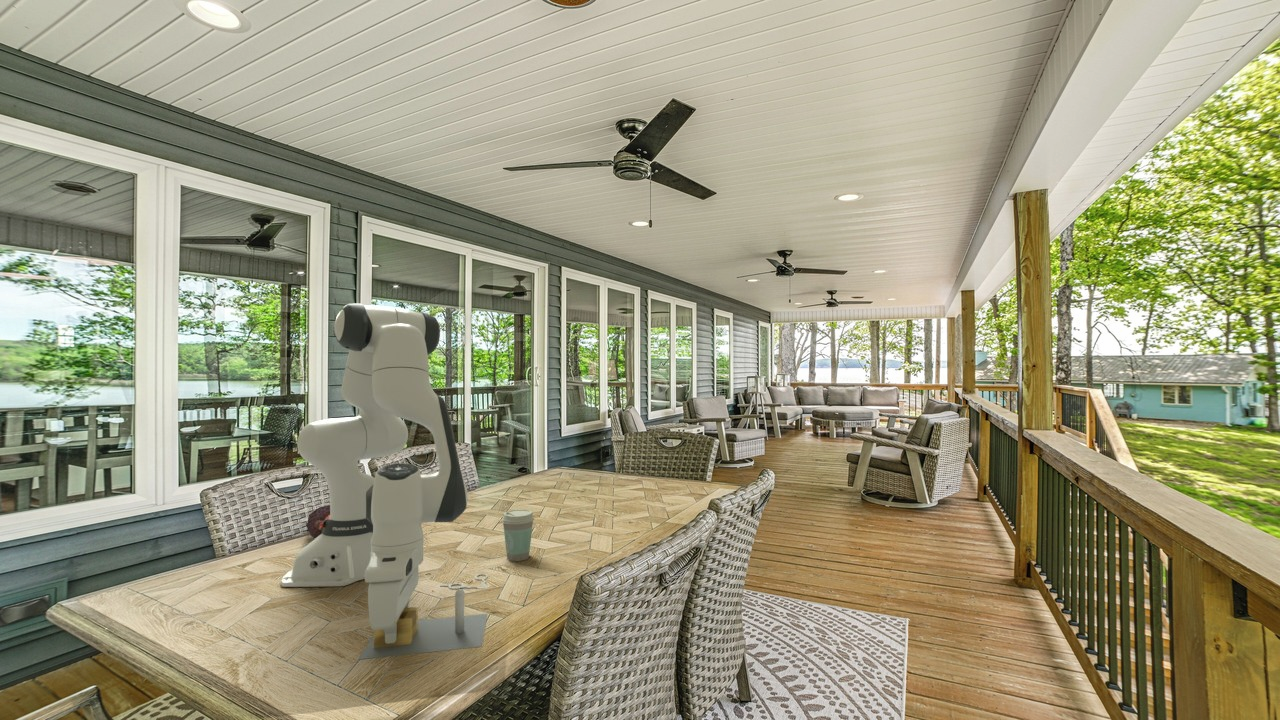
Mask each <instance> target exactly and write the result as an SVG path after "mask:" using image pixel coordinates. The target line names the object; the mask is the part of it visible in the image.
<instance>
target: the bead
mask: <svg viewBox="0 0 1280 720" xmlns="http://www.w3.org/2000/svg"><path fill="white" fill-rule="evenodd" d="M418 611H419V607H418V606H413V607H412V606H411V607H408V608H404V610H403V612H402V613H401V615H400V617H399V619H398V621H397V629H398V638H397V640H396V642H395V643H389V644H387V643H385V633H384V630H373V635H374V648H378V647H387V646H397V645H407V644H411V642H412V639H413V637H414V635H415V633H416V631H417V628H418V620H419V617H418V616H419V615H418V614H419V613H418Z"/></svg>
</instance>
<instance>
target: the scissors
mask: <svg viewBox="0 0 1280 720" xmlns="http://www.w3.org/2000/svg"><path fill="white" fill-rule="evenodd" d="M479 575H481V576H483V575H485V576H484V577H481V578H479V577H480V576H479ZM486 578H487V579H488V574H486V573H478V574H475V576H474V579H476V581H481V582H482V585H481V586H468V585H467V586H466V585H464V583H463V582H456V583H455V582H454V583H450V584H440V588H441V587H443V586H445V587H446V588H448V589H449V590H452V591H453V589H456V590H458V589H460V588H462V589H468V590H471V589H470V588H476V589H485V588H486V589H487V588H490V586H488V585H487V584H486V583H487V581H486V580H487V579H486ZM485 579H486V580H485ZM457 584H458V585H457ZM460 585H461V586H460ZM453 586H458V587H453ZM511 596H512V597H516V598H518V597H519V596H517V595H514V594H511Z"/></svg>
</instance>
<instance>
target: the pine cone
mask: <svg viewBox="0 0 1280 720" xmlns="http://www.w3.org/2000/svg"><path fill="white" fill-rule="evenodd" d="M329 515H330V504H328V505H323V506H319V507H318V508H316V509H314V510H312V512H311V513H310V514H309V515H308V517H307V522H306V525H305V526H306V528H307V529H306V531H307V532H308V533H309V535H310V536H311V537H313V540H314V539H315V538H317V537H318V536H319V535H321V534H322V529H319V528H320V526H319V525H320V524H321V523H322V522H323V521H324V520H325V518H326V517H328V516H329Z"/></svg>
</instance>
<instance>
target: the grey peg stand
mask: <svg viewBox="0 0 1280 720" xmlns="http://www.w3.org/2000/svg"><path fill="white" fill-rule="evenodd" d="M454 599H455V600H454V603H455V604H454V607H455V609H454V611H455V612H454V614H455V615H454V616H448V617H438V618H427V619H418V628H417V631H416V633H415V635H414V637H413V639H412V642H411V644H407V645H397V646H387V647H378V648H374V634H373V635H372V636H371V638H370V639H369V641H368V642H367V644H366V646H365V648H364V649H363V651H362V652H361V654H360V656H359V658H358V659H357V660H358V661H361V660H368V659H378V658H387V657H397V656H398V657H399V656H407V655H417V654H425V653H434V652H436V653H437V652H444V651H452V650H461V649H462V650H463V649H472V648H481V647H482V646H483V640H484V636H485V635H484V634H485V630H486V624H487V618H488V615H489V614H488V613H480V614H479V613H478V614H469V615H465V590H464V588H462V589H456V591H455V597H454Z"/></svg>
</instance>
